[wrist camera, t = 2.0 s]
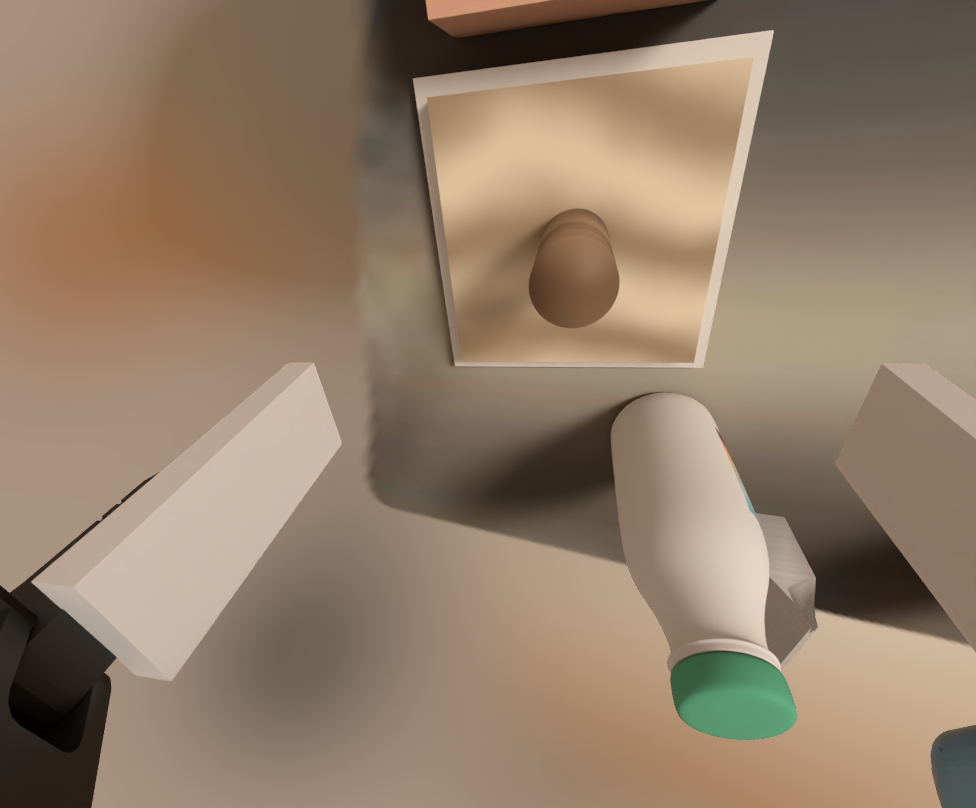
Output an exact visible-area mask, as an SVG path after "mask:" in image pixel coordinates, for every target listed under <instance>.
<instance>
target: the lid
mask: <svg viewBox="0 0 976 808" xmlns="http://www.w3.org/2000/svg"><path fill="white" fill-rule="evenodd" d="M753 59H754V57H750V58H742V59H734V60H726V61H717V62H709V63H701V64H693V65H685V66H677V67H669V68H661V69H653V70H645V71H637V72H629V73H620V74H612V75H604V76H596V77H588V78H580V79H572V80H564V81H556V82H548V83H540V84H531V85H523V86H515V87H507V88H499V89H491V90H483V91H475V92H467V93H459V94H451V95H442V96H434V97H427V104H428V111H429V119H430V126H431V134H432V141H433V148H434V156H435V163H436V171H437V178H438V186H439V193H440V200H441V208H442V215H443V223H444V230H445V237H446V245H447V252H448V260H449V267H450V275H451V282H452V289H453V297H454V304H455V312H456V319H457V326H458V334H459V341H460V349H461V356H462V362H608V363H694V359H695V354H696V349H697V344H698V339H699V334H700V329H701V324H702V319H703V314H704V309H705V303H706V298H707V293H708V288H709V283H710V278H711V273H712V268H713V263H714V258H715V253H716V248H717V242H718V237H719V232H720V227H721V222H722V217H723V212H724V207H725V202H726V197H727V192H728V187H729V181H730V176H731V171H732V166H733V161H734V156H735V151H736V146H737V141H738V136H739V131H740V126H741V120H742V115H743V110H744V105H745V100H746V95H747V90H748V85H749V80H750V75H751V70H752V65H753Z"/></svg>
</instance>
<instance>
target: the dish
mask: <svg viewBox="0 0 976 808" xmlns="http://www.w3.org/2000/svg"><path fill="white" fill-rule="evenodd" d="M701 1H708V0H426V6H427V14H428V20H429V21H430V22H432V23H433V24H435V25H436V26H438V27H439V28H441V29H442V30H444V31H445V32H447V33H448V34H450V35H451V36H453V37H454V38H461V37H468V36H475V35H481V34H488V33H495V32H501V31H508V30H515V29H521V28H528V27H534V26H541V25H548V24H554V23H561V22H568V21H574V20H581V19H588V18H594V17H601V16H608V15H614V14H621V13H628V12H634V11H641V10H648V9H654V8H661V7H668V6H674V5H681V4H688V3H694V2H701Z"/></svg>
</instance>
